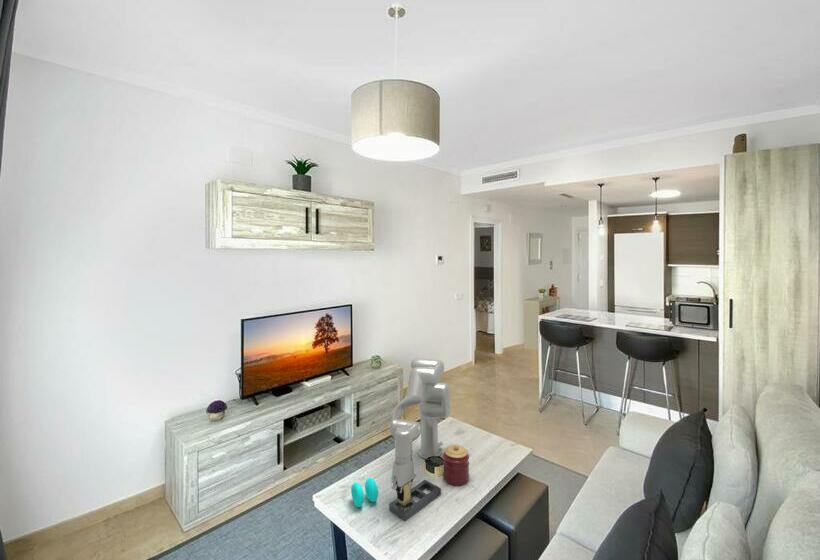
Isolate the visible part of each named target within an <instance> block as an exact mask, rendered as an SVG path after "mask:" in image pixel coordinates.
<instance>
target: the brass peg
mask: <svg viewBox="0 0 820 560" xmlns="http://www.w3.org/2000/svg"><path fill="white" fill-rule="evenodd" d="M399 489H400V487H399ZM402 492H403V501H400V500H399V499H398V502H399V503H400V504H402V506H404V507H405V506H407V505H406V504H408V503H409V502H411V501H410V482H408V483H406V484H405V485H403V489H402Z"/></svg>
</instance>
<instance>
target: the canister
mask: <svg viewBox="0 0 820 560" xmlns="http://www.w3.org/2000/svg"><path fill="white" fill-rule="evenodd" d="M442 457H443V461H442V462H443V463H442V464H443V472H442V476H443V480H444V481H445V482H446V483H447V484H448V485H451V486H455V487H458V486H460V487H461V486H464V485H466V484H467V483H468V482H469V479H470V471H469V470H470V468H469V467H470V466H469V465H470V461H469V459H470V455H469V453H468V450H467V449H466V448H465V447H463V446H462V445H459V444H452V445H449V446H447V447H445V449H444V453H443V455H442Z"/></svg>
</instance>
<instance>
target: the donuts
mask: <svg viewBox="0 0 820 560" xmlns="http://www.w3.org/2000/svg"><path fill="white" fill-rule="evenodd" d="M364 492H365V493H364ZM350 493H351V498H352V501H353V504H354V506H356V507H357V508H361V507H362V506H363V505H364V504H365V495H366V497H367V499H368V501H370V502H372V503H374V502H376V501H378V498H379V490H378V486H377V483H376V481H375V479H374V478H373V477H367V479H366V480H365V484H364V489H363V487H362V485H361V484H360V483H359V482H353V483H352V485H351V492H350Z"/></svg>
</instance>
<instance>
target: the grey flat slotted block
mask: <svg viewBox="0 0 820 560" xmlns="http://www.w3.org/2000/svg"><path fill="white" fill-rule="evenodd" d="M425 490H428V491H429V492H428V493H426V492H424V491H425ZM441 495H442V488H441V487H439V486H437V485H436V484H434V483H432V482H430V481H429V480H427V479H424V480H422V481H421V482H419V483H417V484H416V485H415V486H413V487H412V488H411V496H410V501H411V502H409V503H408V504H406V505H405V506H406V507H407V508H406V509H405V510H404V509H402V506H403V505H402V504H400V503H399V502H398V498H397V497H396V498H395V499H394V500H392V501H391V502H390V503H388V510H389V511H390V512H391V513H392V514H394V515H395V516H397V517H398V518H399V519H401V520H403V522H407V521H408V520H410V519H411V518H412V517H413V516H415V515H416V514H418V513H419V512H420V511H422V510H423V509H424V508H425V507H426V506H428V505H429V504H430V503H432V502H433V501H434V500H436V499H437V498H438V497H440V496H441ZM415 497H416V498H418V500H417V501H415V500H413V498H415Z"/></svg>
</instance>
